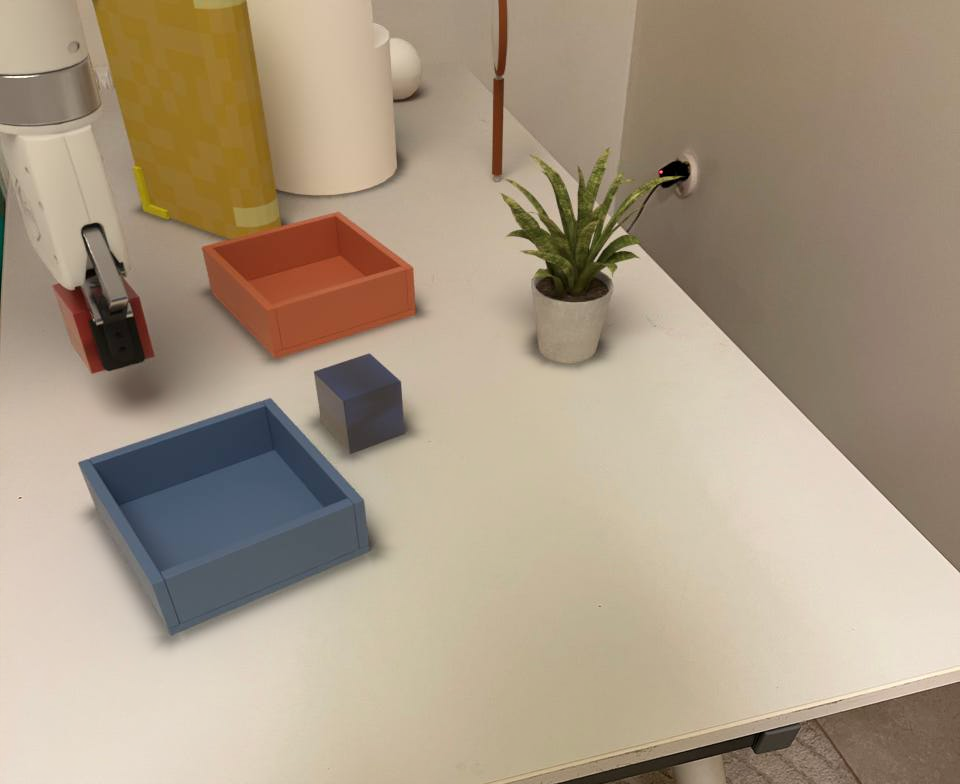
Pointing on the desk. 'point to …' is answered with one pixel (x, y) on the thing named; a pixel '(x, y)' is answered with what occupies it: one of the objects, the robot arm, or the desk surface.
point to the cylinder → (325, 94)
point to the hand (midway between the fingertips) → (111, 345)
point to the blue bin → (225, 512)
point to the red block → (79, 315)
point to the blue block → (360, 402)
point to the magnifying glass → (498, 79)
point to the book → (192, 111)
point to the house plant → (575, 261)
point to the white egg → (404, 68)
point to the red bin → (309, 282)
